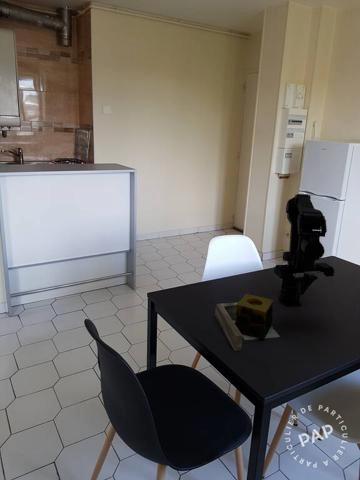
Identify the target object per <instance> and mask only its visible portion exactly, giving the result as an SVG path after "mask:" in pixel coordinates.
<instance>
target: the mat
mask: <svg viewBox="0 0 360 480" xmlns="http://www.w3.org/2000/svg"><path fill="white" fill-rule="evenodd" d="M233 322H234V323H235V320H233ZM274 338H281V336H280V335H279V334H278V332H277V331H276V330H275V329H274V327H273V326H271V328H270V329H269V332H268V333H267V335H266V337H265V338H264V340H265V339H274ZM242 339H243V340H244V341H249V340H250V341H253V340H259V339H258V338H256V337H251V336H247V335H244V334H242Z"/></svg>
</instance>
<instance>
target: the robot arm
mask: <svg viewBox="0 0 360 480" xmlns="http://www.w3.org/2000/svg"><path fill="white" fill-rule="evenodd" d="M285 214H286V219H287V220H288V222H289V224H290V229H289V231H290V233H289V248H288V250H289V251H283V253H282V261H283V262H287V264H276V265H275V266H274V267H273V273H274V274H275V275H276V276H277V277H279V286H280V292H279V297H278V300H279V301H280V302H281V303H282V304H283V305H284V306H285V307H290V306H291V307H292V306H301V305H302V303H301V302H300V297H301V296H303V295H304V294H305V292H306V291H307V290H308V289H309V287H310V286H311V285H312V283H314V282H315V281H316V280H318V279H319V277H317V276H316V275H317V274H319V273H323V275H324V276H325V277H327V278H328V277H334V276H335V268H334V266H331V265H330V264H328V263H327V262H317V263H315V262H316V261H318V260H320V259H321V258H322V257H324V254H325V251H326V250H325V247H324V245H323V243H322V242H321V241H320V240H321V239H320V238H321V237H323V238H324V237H325V238H326V234H327V231H328V230H327V228H328V227H327V219H326V218H325V217H326V216H325V215H324V213H323V212H322V210H320V209H316V208H315V207H314V204H313V202H312V200H311V195H309V194H305V193H297V194H294V196H293V197H292V198H290V199H288V200H287V202H286V206H285Z"/></svg>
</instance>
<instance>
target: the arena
mask: <svg viewBox="0 0 360 480" xmlns="http://www.w3.org/2000/svg"><path fill="white" fill-rule="evenodd" d="M237 303H238V302H227V303H224V302H223V303H215V313H214V316H215V319H216V321H217V322H218V324H219V326H220V328H221V329H222V331H223V333H224V334H225V336H226V338H227V340H228V342H229V343H230V345H231V346H232V348H233V351H242V347H243V346H242V344H243V337H242V334H241V333H240V331H239V330H238V328H237V326H236V325H235V323H234V322H233V321H234V320H233V319H236V312H237V309H236V305H237Z"/></svg>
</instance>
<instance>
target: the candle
mask: <svg viewBox="0 0 360 480" xmlns="http://www.w3.org/2000/svg"><path fill="white" fill-rule="evenodd" d="M236 303H237V305H236V309H237V312H236V318H235V320H234V321H235V325H236V326H237V328H238V330H239V331H240V333H241V334H244V335H247V336H251V337H256V338H258V339H257V340H261V341H264V340H265V339H266V338H265V337H266V335H267V333H268V332H269V329H270V328H271V326H272V323H273V312H274V303H275V300H274V299H270V298H266V297H262V296H257V295H254V294H249V293H245V294H244V296H242V298H241V299H240V300H239V302H236ZM272 327H273V326H272ZM264 338H265V339H264Z"/></svg>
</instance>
